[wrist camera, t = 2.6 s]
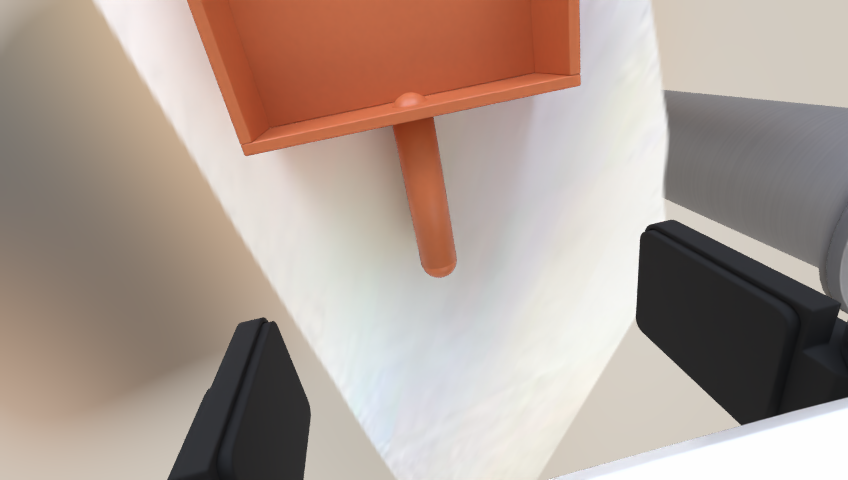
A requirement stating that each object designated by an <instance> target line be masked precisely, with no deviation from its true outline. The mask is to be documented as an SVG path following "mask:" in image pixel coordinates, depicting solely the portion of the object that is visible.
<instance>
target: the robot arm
mask: <svg viewBox="0 0 848 480" xmlns="http://www.w3.org/2000/svg"><path fill="white" fill-rule="evenodd" d="M840 306H841V303H840V302H838V301H836V300H834V299H832V298H830V297H828V296H826V295H824V294H822V293H820V292H818V291H816V290H814V289H812V288H810V287H808V286H806V285H803V284H802V283H800V282H798V281H796V280H794V279H792V278H790V277H788V276H786V275H784V274H782V273H780V272H778V271H776V270H774V269H771V268H769V267H768V266H766V265H764V264H762V263H760V262H758V261H756V260H753V259H752V258H750V257H748V256H746V255H744V254H742V253H740V252H737V251H736V250H733V249H732V248H730V247H727V246H726V245H724V244H722V243H720V242H718V241H715V240H714V239H712V238H710V237H708V236H706V235H704V234H701V233H699V232H697V231H695V230H694V229H691V228H689V227H688V226H685V225H684V224H681V223H680V222H677V221H675V220H668V221H664V222H660V223H655V224H651V225H649V226H648V227H647V228H646V230H645V232H643V233H642V234H641V237H640V251H639V270H638V288H637V307H636V321H637V324H638V327H639V328H640V330H641V331H642V332H643V333H644V334H645V335H646V336H647V337H648V338H649V339H650V340H651V341H652V342H653V343H655V344H656V345H657V346H658V347H659V348H660V349H661V350H662V351H663V352H664V353H665V354H666V355H667V356H668V357H669V358H670V359H672V360H673V361H674V362H675V363H676V364H677V365H678V366H679V367H680V368H681V369H682V370H683V371H684V372H685V373H686V374H687V375H688V376H690V377H691V378H692V379H693V380H694V381H695V382H696V383H697V384H698V385H699V386H700V387H701V388H702V389H703V390H704V391H706V392H707V393H708V394H709V395H710V396H711V397H712V398H713V399H714V400H715V401H716V402H717V403H718V404H719V405H721V406H722V407H723V408H724V409H725V410H726V411H727V412H728V413H729V414H730V415H731V416H732V417H733V418H734V419H735V420H736V421H737V422H738V423H739V424H741V425H742V426H738V427H734V428H731V429H727V430H723V431H720V432H717V433H712V434H709V435H705V436H702V437H698V438H695V439H691V440H687V441H684V442H680V443H676V444H672V445H669V446H665V447H662V448H658V449H654V450H651V451H648V452H644V453H640V454H637V455H633V456H630V457H626V458H623V459H619V460H615V461H612V462H608V463H604V464H601V465H597V466H594V467H590V468H587V469H583V470H580V471H576V472H573V473H569V474H566V475H562V476H558V477H555V478H551V479H548V480H848V322H845V321H843V320H842V319H839V318H838V317H837V316H838V313H839V310H840ZM310 417H311V413H310V405H309V402H308V399H307V397H306V394H305V392H304V389H303V387H302V385H301V382H300V380H299V377H298V375H297V372H296V370H295V367H294V365H293V363H292V360H291V358H290V355H289V353H288V350H287V348H286V345H285V343H284V341H283V338H282V336H281V333H280V331H279V328H278V326H277V324H276V323H275V322H274V321H272V322H268V320H266V318H259V319H254V320H250V321H246V322H242V323H240V324H238V326H237V328H236V330H235V332H234V335H233V337H232V340H231V342H230V344H229V346H228V349H227V351H226V353H225V356H224V358H223V360H222V363H221V365H220V367H219V370H218V372H217V374H216V377H215V379H214V381H213V384H212V386H211V388H210V389H208V390H207V392H206V394H205V395H204V398H203V400H202V402H201V405H200V407H199V409H198V411H197V414H196V416H195V418H194V420H193V423H192V425H191V427H190V430H189V432H188V434H187V436H186V439H185V441H184V443H183V445H182V448H181V450H180V453H179V454H178V457H177V459H176V461H175V464H174V466H173V468H172V470H171V473H170V475H169V477H168V479H167V480H303V478H304V469H305V461H306V452H307V443H308V435H309V426H310Z"/></svg>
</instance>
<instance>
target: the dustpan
mask: <svg viewBox="0 0 848 480" xmlns="http://www.w3.org/2000/svg"><path fill="white" fill-rule="evenodd" d="M187 2H188V4H189V7H190V10H191V13H192V15H193V18H194V21H195V23H196V26H197V29H198V31H199V34H200V37H201V39H202V42H203V45H204V48H205V50H206V53H207V56H208V58H209V61H210V64H211V66H212V69H213V72H214V74H215V77H216V80H217V83H218V85H219V88H220V91H221V93H222V96H223V99H224V101H225V104H226V107H227V109H228V112H229V115H230V117H231V120H232V123H233V126H234V128H235V131H236V134H237V136H238V139H239V142H240V144H242V145H241V147H242V150H243V152H244V155H245V156H249V155H254V154H258V153H263V152H268V151H273V150H277V149H282V148H287V147H292V146H296V145H301V144H306V143H310V142H315V141H320V140H325V139H329V138H334V137H339V136H344V135H348V134H353V133H358V132H363V131H367V130H372V129H377V128H382V127H386V126H391V125H393V130H394V135H395V139H396V144H397V149H398V154H399V158H400V163H401V168H402V173H403V178H404V182H405V187H406V192H407V197H408V202H409V206H410V211H411V216H412V221H413V226H414V230H415V235H416V240H417V245H418V249H419V254H420V259H421V264H422V267H423V269H424V270H425V272H426V273H428V274H429V275H430V276H433V277H437V278H441V277H445V276H447V275H449V274H450V273H451V272H452V271H453V270H454V268H455V266H456V262H457V257H456V251H455V245H454V239H453V233H452V227H451V221H450V215H449V209H448V203H447V197H446V191H445V185H444V179H443V173H442V167H441V161H440V155H439V148H438V142H437V136H436V130H435V124H434V118H433V117H434V116H438V115H443V114H448V113H453V112H457V111H462V110H467V109H471V108H476V107H481V106H486V105H490V104H495V103H500V102H505V101H509V100H514V99H519V98H524V97H528V96H533V95H538V94H542V93H547V92H552V91H557V90H561V89H566V88H571V87H576V86H580V84H581V82H580V19H579V0H187ZM532 73H533V74H532ZM527 74H529V75H527ZM523 75H524V76H523ZM518 76H519V77H518ZM513 77H514V78H513ZM508 78H509V79H508ZM503 79H505V80H503ZM499 80H500V81H499ZM494 81H495V82H494ZM489 82H490V83H489ZM484 83H485V84H484ZM479 84H481V85H479ZM475 85H476V86H475ZM470 86H471V87H470ZM465 87H466V88H465ZM460 88H461V89H460ZM455 89H456V90H455ZM450 90H452V91H450ZM446 91H447V92H446ZM441 92H442V93H441ZM436 93H437V94H436ZM431 94H432V95H431ZM426 95H428V96H426ZM393 102H394V103H393ZM388 103H389V104H388ZM383 104H384V105H383ZM378 105H379V106H378ZM373 106H375V107H373ZM369 107H370V108H369ZM364 108H365V109H364ZM359 109H360V110H359ZM354 110H355V111H354ZM349 111H351V112H349ZM345 112H346V113H345ZM340 113H341V114H340ZM335 114H336V115H335ZM330 115H331V116H330ZM325 116H327V117H325ZM321 117H322V118H321ZM316 118H317V119H316ZM311 119H312V120H311ZM306 120H307V121H306ZM301 121H302V122H301ZM296 122H298V123H296ZM292 123H293V124H292ZM287 124H288V125H287ZM282 125H283V126H282ZM277 126H278V127H277ZM272 127H274V128H272Z"/></svg>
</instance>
